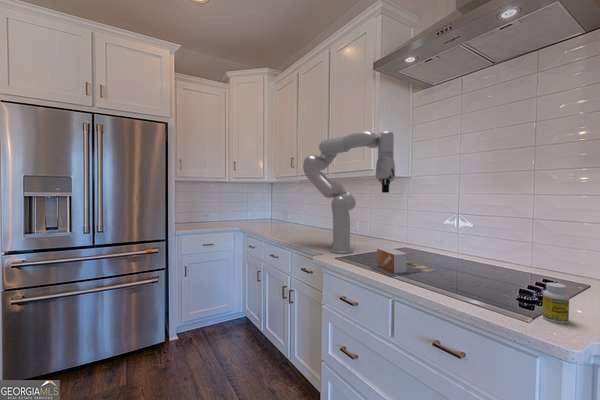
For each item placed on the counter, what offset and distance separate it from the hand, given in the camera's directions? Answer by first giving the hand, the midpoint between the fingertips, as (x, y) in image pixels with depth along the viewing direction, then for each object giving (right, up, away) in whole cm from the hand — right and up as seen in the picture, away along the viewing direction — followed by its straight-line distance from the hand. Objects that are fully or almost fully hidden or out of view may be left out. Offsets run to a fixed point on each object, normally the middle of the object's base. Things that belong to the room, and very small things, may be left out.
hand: (385, 192), depth 149 cm
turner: (+9, -34, -19) cm, 40 cm away
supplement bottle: (+25, -36, -70) cm, 83 cm away
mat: (-3, -34, -22) cm, 41 cm away
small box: (-6, -30, -16) cm, 34 cm away
